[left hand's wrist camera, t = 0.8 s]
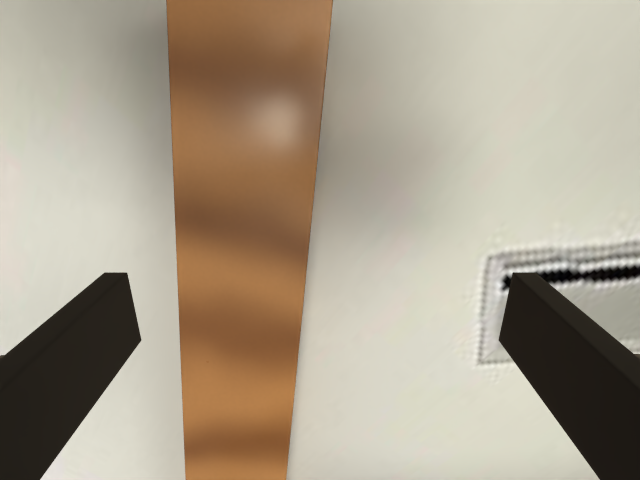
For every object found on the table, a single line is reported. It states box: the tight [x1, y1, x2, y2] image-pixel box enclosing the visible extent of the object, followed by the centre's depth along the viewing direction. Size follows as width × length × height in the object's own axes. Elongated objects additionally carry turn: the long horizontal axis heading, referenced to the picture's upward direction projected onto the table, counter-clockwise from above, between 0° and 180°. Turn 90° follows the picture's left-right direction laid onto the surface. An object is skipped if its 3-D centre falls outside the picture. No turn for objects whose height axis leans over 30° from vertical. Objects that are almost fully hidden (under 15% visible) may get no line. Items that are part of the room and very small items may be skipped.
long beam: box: [166, 0, 333, 480], centre depth 34 cm, size 64×9×7 cm, turn 174°
